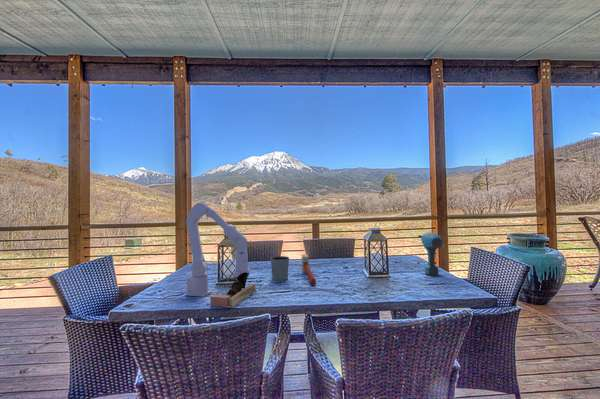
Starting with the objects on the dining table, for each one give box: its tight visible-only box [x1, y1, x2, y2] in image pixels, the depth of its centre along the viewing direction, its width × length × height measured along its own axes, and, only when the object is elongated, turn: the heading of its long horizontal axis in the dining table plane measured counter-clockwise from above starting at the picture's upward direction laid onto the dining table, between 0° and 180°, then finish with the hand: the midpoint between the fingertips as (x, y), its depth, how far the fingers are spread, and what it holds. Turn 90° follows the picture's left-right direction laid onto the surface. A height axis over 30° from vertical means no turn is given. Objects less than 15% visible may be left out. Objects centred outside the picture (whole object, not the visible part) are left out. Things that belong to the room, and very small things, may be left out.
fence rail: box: [228, 283, 256, 309], centre depth 139 cm, size 2×23×4 cm, turn 164°
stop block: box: [210, 293, 231, 308], centre depth 130 cm, size 8×3×4 cm, turn 74°
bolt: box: [226, 280, 244, 297], centre depth 141 cm, size 6×5×15 cm
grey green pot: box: [270, 255, 290, 283], centre depth 169 cm, size 10×10×12 cm
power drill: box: [418, 232, 443, 277], centre depth 175 cm, size 28×9×23 cm, turn 179°
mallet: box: [301, 253, 317, 286], centre depth 170 cm, size 11×4×30 cm
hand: (242, 288), depth 150 cm, fingers closed
